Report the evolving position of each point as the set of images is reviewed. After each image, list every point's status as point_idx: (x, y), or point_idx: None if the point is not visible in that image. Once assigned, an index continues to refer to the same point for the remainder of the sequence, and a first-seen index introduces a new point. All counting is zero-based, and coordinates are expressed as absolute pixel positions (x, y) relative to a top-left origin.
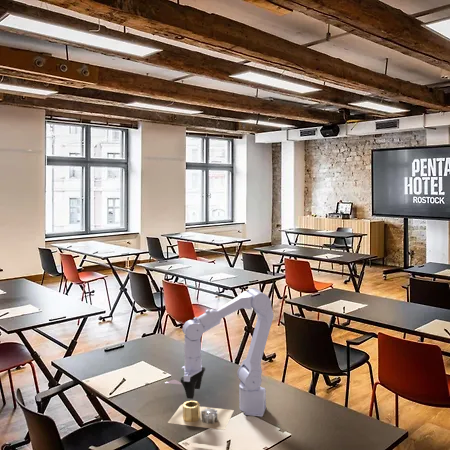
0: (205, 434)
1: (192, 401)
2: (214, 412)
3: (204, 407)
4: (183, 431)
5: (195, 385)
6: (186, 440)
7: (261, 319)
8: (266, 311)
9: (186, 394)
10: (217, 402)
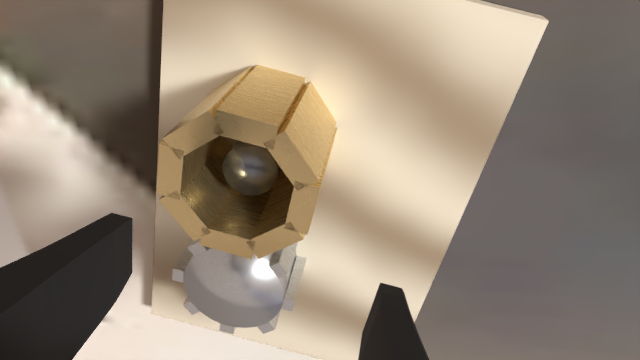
0: (119, 211)
1: (298, 200)
2: (228, 317)
3: (448, 221)
4: (121, 74)
5: (373, 332)
6: (20, 103)
7: None
8: None
9: (73, 236)
10: (563, 292)
